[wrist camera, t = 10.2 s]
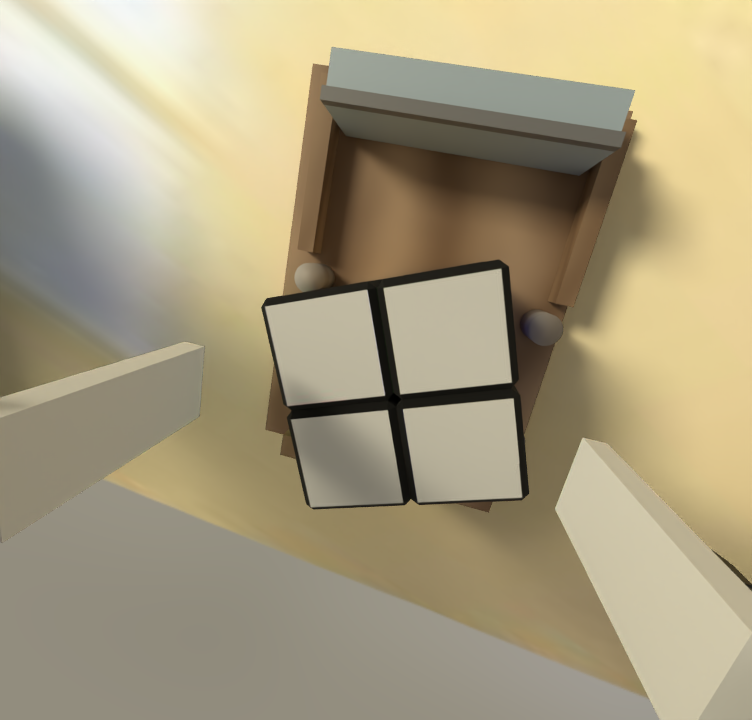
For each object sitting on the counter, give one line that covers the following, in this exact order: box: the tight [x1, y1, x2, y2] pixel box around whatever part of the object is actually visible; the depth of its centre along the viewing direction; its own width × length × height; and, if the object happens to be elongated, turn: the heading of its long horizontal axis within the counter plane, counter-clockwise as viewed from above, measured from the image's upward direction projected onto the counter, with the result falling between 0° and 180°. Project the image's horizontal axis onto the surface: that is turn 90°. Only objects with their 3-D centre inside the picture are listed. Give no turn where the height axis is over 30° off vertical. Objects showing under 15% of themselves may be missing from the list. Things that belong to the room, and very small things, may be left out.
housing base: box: [266, 64, 637, 512], centre depth 23 cm, size 18×24×4 cm
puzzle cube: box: [261, 259, 529, 509], centre depth 20 cm, size 10×10×10 cm
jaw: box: [320, 47, 635, 176], centre depth 19 cm, size 14×2×5 cm, turn 78°
